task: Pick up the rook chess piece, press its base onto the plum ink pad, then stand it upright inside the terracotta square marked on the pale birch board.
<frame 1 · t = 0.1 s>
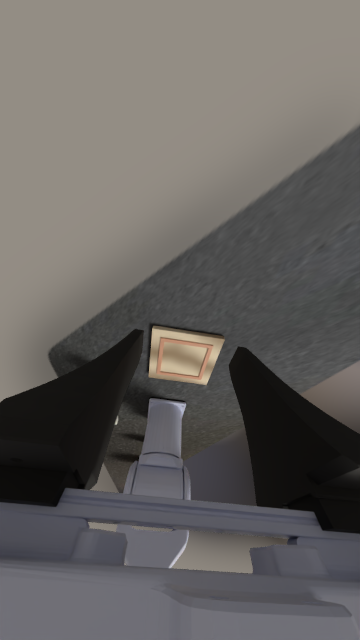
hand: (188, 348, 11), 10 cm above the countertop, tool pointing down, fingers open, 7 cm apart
marked board: (182, 356, 25), on the countertop
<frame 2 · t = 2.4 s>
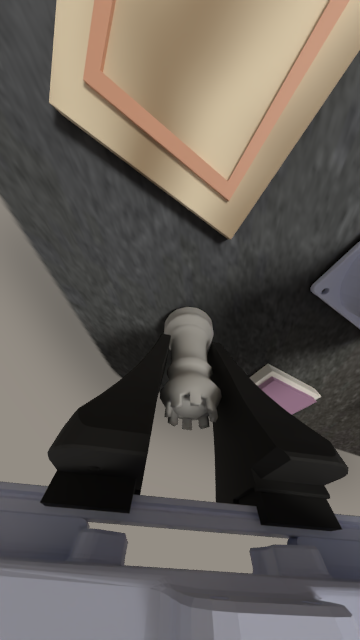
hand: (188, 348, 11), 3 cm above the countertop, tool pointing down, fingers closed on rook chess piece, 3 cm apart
ink pad: (272, 390, 18), on the countertop
rook chess piece: (188, 324, 14), on the countertop, touching gripper
marked board: (212, 41, 6), on the countertop
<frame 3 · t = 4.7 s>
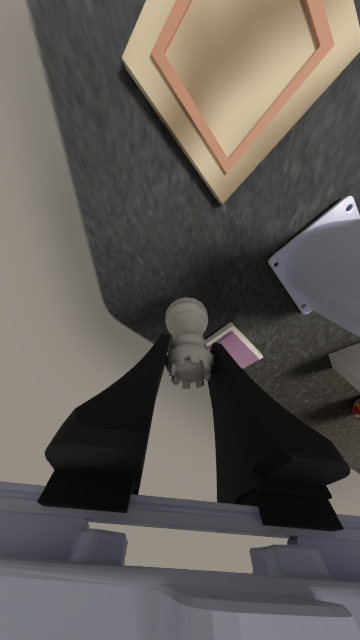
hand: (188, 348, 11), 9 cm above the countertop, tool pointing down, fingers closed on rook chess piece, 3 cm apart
ink pad: (229, 348, 23), on the countertop
rook chess piece: (186, 314, 16), point 4 cm above the countertop, touching gripper
marked board: (236, 64, 10), on the countertop
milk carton: (353, 351, 23), on the countertop
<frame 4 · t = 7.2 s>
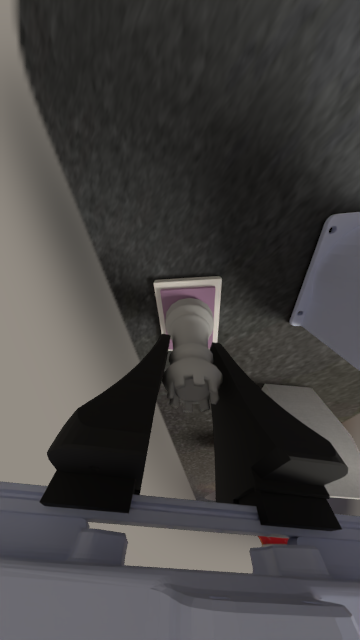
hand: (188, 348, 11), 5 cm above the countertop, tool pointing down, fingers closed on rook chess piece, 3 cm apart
ink pad: (188, 315, 15), on the countertop
rook chess piece: (188, 316, 14), point 1 cm above the countertop, touching gripper, ink pad
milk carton: (281, 392, 22), on the countertop
when the fingers open (5 cm above the countertop, at t = 14.1 s): rook chess piece stays where it is, resting on marked board.
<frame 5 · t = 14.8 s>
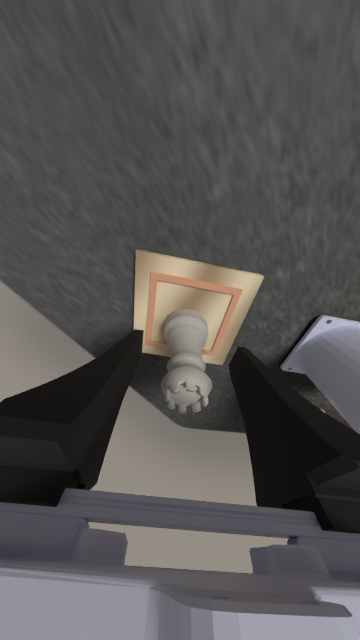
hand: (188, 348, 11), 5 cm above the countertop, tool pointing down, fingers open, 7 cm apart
rook chess piece: (185, 325, 15), point 1 cm above the countertop, touching marked board
marked board: (187, 316, 15), on the countertop
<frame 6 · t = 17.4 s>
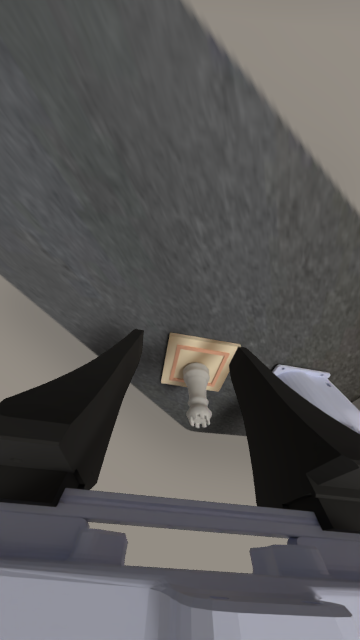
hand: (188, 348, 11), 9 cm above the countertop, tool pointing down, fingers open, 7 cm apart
rook chess piece: (195, 369, 25), point 1 cm above the countertop, touching marked board
marked board: (196, 363, 25), on the countertop
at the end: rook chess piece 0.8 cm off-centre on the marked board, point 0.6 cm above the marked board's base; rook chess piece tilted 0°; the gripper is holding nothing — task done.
